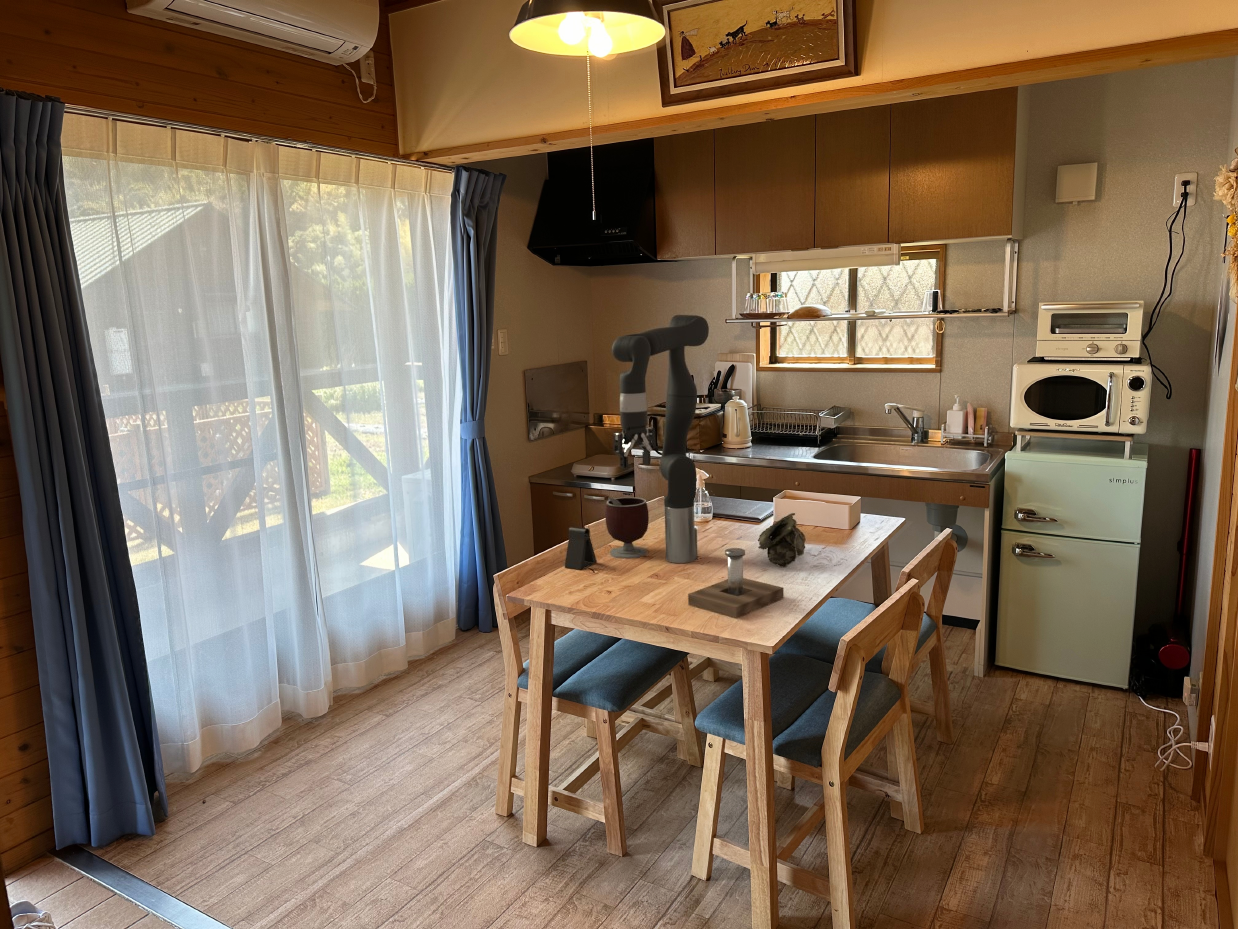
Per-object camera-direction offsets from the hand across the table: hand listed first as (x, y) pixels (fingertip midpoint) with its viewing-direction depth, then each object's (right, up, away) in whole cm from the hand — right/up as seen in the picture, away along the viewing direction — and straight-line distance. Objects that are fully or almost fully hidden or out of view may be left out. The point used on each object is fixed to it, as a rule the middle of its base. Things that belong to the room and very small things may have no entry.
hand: (635, 467), depth 239 cm
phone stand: (-16, -31, +27) cm, 44 cm away
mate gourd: (-2, -28, +38) cm, 47 cm away
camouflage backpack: (+45, -29, +26) cm, 59 cm away
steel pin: (+26, -36, -12) cm, 46 cm away
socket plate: (+26, -36, -12) cm, 46 cm away
